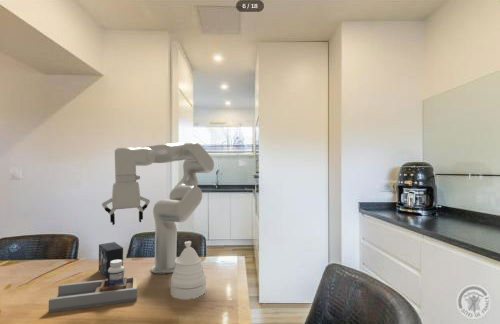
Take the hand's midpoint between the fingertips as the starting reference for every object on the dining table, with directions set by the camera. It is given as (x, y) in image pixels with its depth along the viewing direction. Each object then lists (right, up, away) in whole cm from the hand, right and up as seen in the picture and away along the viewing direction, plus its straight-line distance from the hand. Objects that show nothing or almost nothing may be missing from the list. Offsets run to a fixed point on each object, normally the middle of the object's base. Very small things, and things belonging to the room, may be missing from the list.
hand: (127, 222), depth 116 cm
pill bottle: (0, -22, -10) cm, 24 cm away
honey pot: (+25, -25, -6) cm, 36 cm away
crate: (0, -23, -10) cm, 25 cm away
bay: (-5, -24, -12) cm, 27 cm away
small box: (-13, -25, +13) cm, 31 cm away
